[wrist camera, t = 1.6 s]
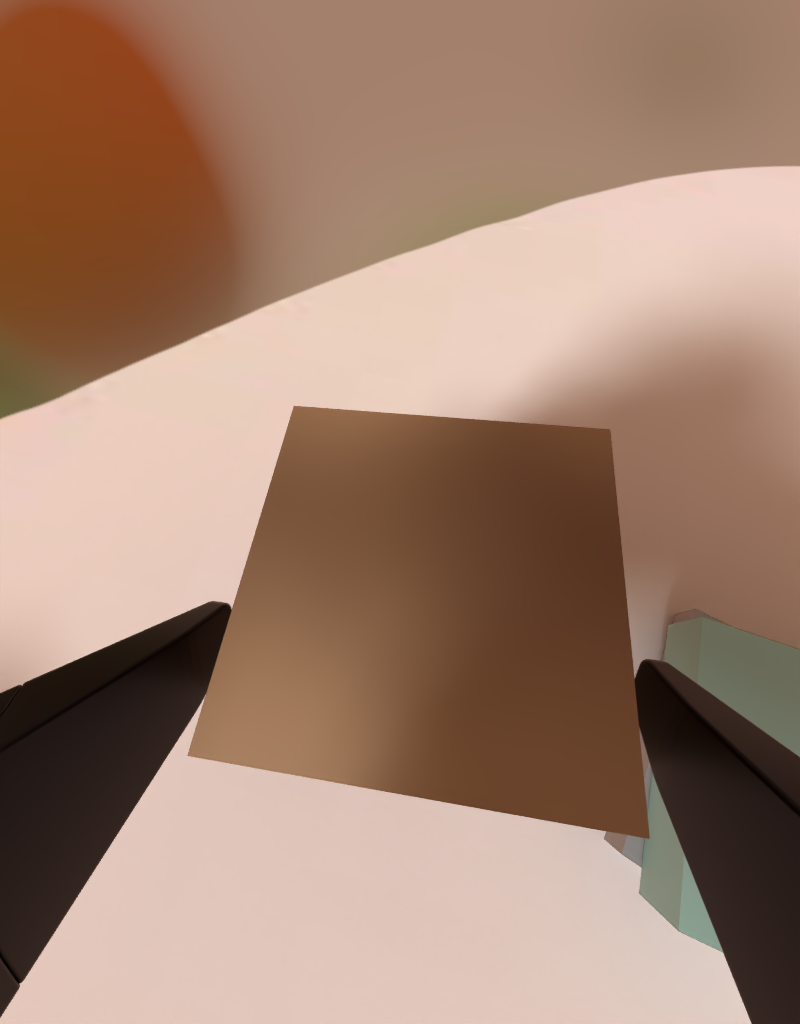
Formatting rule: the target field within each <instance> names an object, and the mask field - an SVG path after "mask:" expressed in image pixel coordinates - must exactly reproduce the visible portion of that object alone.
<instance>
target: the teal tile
mask: <svg viewBox="0 0 800 1024" xmlns="http://www.w3.org/2000/svg"><path fill="white" fill-rule="evenodd" d="M664 661H665V662H667V663H669V664H670V665H672V666H673V667H675V668H676V669H677V670H679V671H680V672H682V673H683V674H684V675H686V676H687V677H689V678H690V679H691V680H693V681H694V682H696V683H697V684H698V685H700V686H701V687H703V688H704V689H705V690H707V691H708V692H710V693H711V694H712V695H714V696H715V697H717V698H718V699H719V700H721V701H722V702H724V703H725V704H726V705H728V706H729V707H731V708H732V709H733V710H735V711H736V712H738V713H739V714H740V715H742V716H743V717H745V718H746V719H748V720H749V721H750V722H752V723H753V724H755V725H756V726H757V727H759V728H760V729H762V730H763V731H764V732H766V733H767V734H769V735H770V736H771V737H773V738H774V739H776V740H777V741H778V742H780V743H781V744H783V745H784V746H785V747H787V748H788V749H790V750H791V751H792V752H794V753H795V754H797V755H798V756H799V757H800V649H797V648H794V647H791V646H788V645H785V644H782V643H779V642H776V641H773V640H770V639H767V638H764V637H761V636H758V635H755V634H752V633H749V632H746V631H743V630H740V629H737V628H734V627H731V626H728V625H725V624H722V623H719V622H716V621H713V620H710V619H707V618H704V617H700V618H696V619H692V620H687V621H683V622H679V623H675V624H670V625H668V630H667V639H666V648H665V658H664ZM648 824H649V834H650V839H647V838H645V843H644V852H643V861H642V871H641V880H640V889H639V894H640V895H641V896H642V897H643V898H644V899H645V900H646V901H648V902H649V903H650V904H651V905H652V906H653V907H654V908H655V909H656V910H657V911H658V912H659V913H660V914H661V915H662V916H663V917H664V918H665V919H666V920H667V921H668V922H669V923H670V924H672V925H673V926H674V927H675V928H676V929H677V930H678V931H679V932H681V933H683V934H685V935H687V936H689V937H692V938H694V939H696V940H698V941H700V942H702V943H704V944H706V945H708V946H710V947H713V948H715V949H717V950H719V951H721V952H723V951H722V948H721V946H720V943H719V940H718V938H717V935H716V933H715V930H714V928H713V925H712V923H711V920H710V918H709V915H708V913H707V910H706V908H705V905H704V903H703V900H702V898H701V895H700V893H699V890H698V888H697V885H696V883H695V880H694V878H693V875H692V873H691V870H690V868H689V865H688V863H687V860H686V858H685V855H684V853H683V850H682V848H681V845H680V843H679V840H678V838H677V835H676V833H675V830H674V827H673V825H672V822H671V820H670V817H669V815H668V812H667V810H666V807H665V805H664V802H663V800H662V797H661V795H660V792H659V790H658V787H657V784H656V782H655V779H654V776H653V773H652V778H651V787H650V797H649V806H648Z"/></svg>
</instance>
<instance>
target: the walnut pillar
mask: <svg viewBox="0 0 800 1024" xmlns="http://www.w3.org/2000/svg"><path fill="white" fill-rule="evenodd" d="M188 756H192V757H197V758H203V759H208V760H214V761H219V762H225V763H230V764H236V765H241V766H247V767H253V768H258V769H264V770H269V771H275V772H280V773H286V774H291V775H297V776H303V777H308V778H314V779H319V780H325V781H330V782H336V783H341V784H347V785H352V786H358V787H364V788H369V789H375V790H380V791H386V792H391V793H397V794H402V795H408V796H414V797H419V798H425V799H430V800H436V801H441V802H447V803H452V804H458V805H464V806H469V807H475V808H480V809H486V810H491V811H497V812H502V813H508V814H513V815H519V816H525V817H530V818H536V819H541V820H547V821H552V822H558V823H563V824H569V825H575V826H580V827H586V828H591V829H597V830H602V831H608V832H613V833H619V834H625V835H630V836H636V837H641V838H647V839H650V834H649V824H648V814H647V804H646V793H645V783H644V773H643V763H642V752H641V742H640V732H639V722H638V711H637V701H636V691H635V681H634V670H633V660H632V650H631V639H630V629H629V619H628V609H627V598H626V588H625V578H624V568H623V557H622V547H621V537H620V527H619V516H618V506H617V496H616V485H615V475H614V465H613V455H612V444H611V434H610V430H609V429H595V428H582V427H568V426H555V425H542V424H528V423H515V422H502V421H488V420H475V419H462V418H448V417H435V416H422V415H408V414H395V413H381V412H368V411H355V410H341V409H328V408H315V407H301V406H294V407H293V411H292V414H291V417H290V421H289V424H288V427H287V430H286V434H285V437H284V440H283V444H282V447H281V450H280V453H279V457H278V460H277V463H276V467H275V470H274V473H273V476H272V480H271V483H270V486H269V490H268V493H267V496H266V499H265V503H264V506H263V509H262V513H261V516H260V519H259V522H258V526H257V529H256V532H255V536H254V539H253V542H252V545H251V549H250V552H249V555H248V558H247V562H246V565H245V568H244V572H243V575H242V578H241V581H240V585H239V588H238V591H237V595H236V598H235V601H234V604H233V608H232V611H231V614H230V618H229V621H228V624H227V627H226V631H225V634H224V637H223V641H222V644H221V647H220V650H219V654H218V657H217V660H216V664H215V667H214V670H213V673H212V677H211V680H210V683H209V687H208V690H207V693H206V696H205V700H204V703H203V706H202V710H201V713H200V716H199V719H198V723H197V726H196V729H195V733H194V736H193V739H192V742H191V746H190V749H189V752H188Z"/></svg>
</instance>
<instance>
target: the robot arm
mask: <svg viewBox="0 0 800 1024" xmlns="http://www.w3.org/2000/svg"><path fill="white" fill-rule="evenodd" d="M231 611H232V609H231V606H230V605H229V604H228V603H224V602H217V601H211V602H208V603H206V604H203V605H201V606H199V607H197V608H194V609H192V610H190V611H187V612H185V613H183V614H181V615H178V616H176V617H174V618H171V619H169V620H167V621H165V622H162V623H160V624H158V625H155V626H153V627H151V628H148V629H146V630H144V631H142V632H139V633H137V634H135V635H132V636H130V637H128V638H126V639H123V640H121V641H119V642H116V643H114V644H112V645H110V646H107V647H105V648H103V649H100V650H98V651H96V652H94V653H91V654H89V655H87V656H84V657H82V658H80V659H78V660H75V661H73V662H71V663H68V664H66V665H64V666H62V667H59V668H57V669H55V670H52V671H50V672H48V673H45V674H43V675H41V676H39V677H36V678H34V679H32V680H29V681H27V682H25V683H24V684H23V686H22V685H18V686H15V687H13V688H11V689H9V690H6V691H4V692H2V693H0V1017H1V1016H2V1014H3V1013H4V1011H5V1010H6V1008H7V1006H8V1005H9V1003H10V1002H11V1000H12V999H13V997H14V996H15V994H16V992H17V991H18V989H19V987H20V984H19V983H22V982H23V981H24V979H25V978H26V976H27V975H28V973H29V971H30V970H31V968H32V967H33V965H34V964H35V962H36V961H37V959H38V957H39V956H40V954H41V953H42V951H43V950H44V948H45V946H46V945H47V943H48V942H49V940H50V939H51V937H52V936H53V934H54V932H55V931H56V929H57V928H58V926H59V925H60V923H61V922H62V920H63V918H64V917H65V915H66V914H67V912H68V911H69V909H70V907H71V906H72V904H73V903H74V901H75V900H76V898H77V897H78V895H79V893H80V892H81V890H82V889H83V887H84V886H85V884H86V882H87V881H88V879H89V878H90V876H91V875H92V873H93V872H94V870H95V868H96V867H97V865H98V864H99V862H100V861H101V859H102V858H103V856H104V854H105V853H106V851H107V850H108V848H109V847H110V845H111V843H112V842H113V840H114V839H115V837H116V836H117V834H118V833H119V831H120V829H121V828H122V826H123V825H124V823H125V822H126V820H127V819H128V817H129V815H130V814H131V812H132V811H133V809H134V808H135V806H136V804H137V803H138V801H139V800H140V798H141V797H142V795H143V794H144V792H145V790H146V789H147V787H148V786H149V784H150V783H151V781H152V780H153V778H154V776H155V775H156V773H157V772H158V770H159V769H160V767H161V765H162V764H163V762H164V761H165V759H166V758H167V756H168V755H169V753H170V751H171V750H172V748H173V747H174V745H175V744H176V742H177V741H178V739H179V737H180V736H181V734H182V733H183V731H184V730H185V728H186V726H187V725H188V723H189V722H190V720H191V719H192V717H193V716H194V714H195V712H196V711H197V709H198V707H199V706H200V704H201V702H202V701H203V699H204V697H205V695H206V693H207V690H208V687H209V683H210V680H211V677H212V673H213V670H214V667H215V664H216V660H217V657H218V654H219V650H220V647H221V644H222V641H223V637H224V634H225V631H226V627H227V624H228V621H229V618H230V614H231ZM634 681H635V691H636V701H637V711H638V722H639V729H640V732H641V736H642V739H643V743H644V746H645V749H646V753H647V756H648V760H649V763H650V767H651V770H652V773H653V776H654V779H655V782H656V784H657V787H658V790H659V792H660V795H661V797H662V800H663V802H664V805H665V807H666V810H667V812H668V815H669V817H670V820H671V822H672V825H673V827H674V830H675V833H676V835H677V838H678V840H679V843H680V845H681V848H682V850H683V853H684V855H685V858H686V860H687V863H688V865H689V868H690V870H691V873H692V875H693V878H694V880H695V883H696V885H697V888H698V890H699V893H700V895H701V898H702V900H703V903H704V905H705V908H706V910H707V913H708V915H709V918H710V920H711V923H712V925H713V928H714V930H715V933H716V935H717V938H718V940H719V943H720V946H721V948H722V951H723V953H724V956H725V958H726V961H727V963H728V966H729V968H730V971H731V973H732V976H733V978H734V981H735V983H736V986H737V988H738V991H739V993H740V996H741V998H742V1001H743V1003H744V1006H745V1008H746V1011H747V1013H748V1016H749V1018H750V1021H751V1023H752V1024H800V757H799V756H798V755H797V754H795V753H794V752H792V751H791V750H790V749H788V748H787V747H785V746H784V745H783V744H781V743H780V742H778V741H777V740H776V739H774V738H773V737H771V736H770V735H769V734H767V733H766V732H764V731H763V730H762V729H760V728H759V727H757V726H756V725H755V724H753V723H752V722H750V721H749V720H748V719H746V718H745V717H743V716H742V715H740V714H739V713H738V712H736V711H735V710H733V709H732V708H731V707H729V706H728V705H726V704H725V703H724V702H722V701H721V700H719V699H718V698H717V697H715V696H714V695H712V694H711V693H710V692H708V691H707V690H705V689H704V688H703V687H701V686H700V685H698V684H697V683H696V682H694V681H693V680H691V679H690V678H689V677H687V676H686V675H684V674H683V673H682V672H680V671H679V670H677V669H676V668H675V667H673V666H672V665H670V664H669V663H667V662H665V661H658V660H651V659H645V660H643V661H642V662H641V664H640V666H639V669H638V671H637V674H636V677H635V679H634Z"/></svg>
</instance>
